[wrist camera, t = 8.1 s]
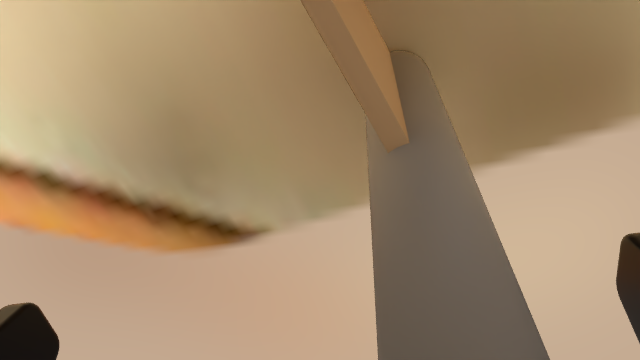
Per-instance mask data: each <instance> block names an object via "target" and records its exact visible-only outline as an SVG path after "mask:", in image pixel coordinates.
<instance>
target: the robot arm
mask: <svg viewBox="0 0 640 360" xmlns="http://www.w3.org/2000/svg"><path fill="white" fill-rule="evenodd" d="M616 285H617V291H618V294H619V297H620V300H621V302H622V304H623V306H624V309H625V311H626V313H627V315H628V318H629V320H630V322H631V325H632V327H633V329H634V332H635V334H636V336H637V338H638V340H639V343H640V233H633V234H628V235H626V236H625V237H623V239H622V241H621V246H620V254H619V261H618V270H617V277H616ZM58 351H59V339H58V336H57V334H56V333H55V331H54V330H53V328H52V327H51V325H50V323H49V322H48V320H47V319H46V317H45V316H44V314H43V313H42V311H41V310H40V308H39V307H38V306H37V305H35V304H33V303H20V304H12V305H8V306H5V307H3V308H2V309H0V360H56V358H57V355H58Z"/></svg>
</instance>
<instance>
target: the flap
mask: <svg viewBox="0 0 640 360" xmlns="http://www.w3.org/2000/svg"><path fill="white" fill-rule="evenodd" d="M301 2H302V4H303V6H304V7H305V9H306V11H307V13H308V14H309V16H310V18H311V20H312V21H313V23H314V25H315V27H316V28H317V30H318V32H319V34H320V35H321V37H322V39H323V41H324V42H325V44H326V46H327V48H328V49H329V51H330V53H331V54H332V56H333V58H334V60H335V61H336V63H337V65H338V67H339V68H340V70H341V72H342V74H343V75H344V77H345V79H346V81H347V82H348V84H349V86H350V88H351V89H352V91H353V93H354V95H355V96H356V98H357V100H358V102H359V103H360V105H361V107H362V109H363V110H364V112H365V114H366V133H367V152H368V172H369V191H370V210H371V230H372V249H373V268H374V288H375V306H376V325H377V344H378V345H377V346H378V360H550V358H549V356H548V354H547V351H546V349H545V347H544V344H543V342H542V340H541V337H540V334H539V332H538V330H537V327H536V325H535V323H534V320H533V318H532V315H531V313H530V310H529V308H528V306H527V303H526V301H525V299H524V296H523V294H522V291H521V289H520V287H519V284H518V282H517V279H516V277H515V275H514V272H513V270H512V267H511V265H510V263H509V260H508V258H507V256H506V253H505V251H504V249H503V246H502V243H501V241H500V239H499V236H498V234H497V231H496V229H495V227H494V224H493V222H492V219H491V217H490V215H489V212H488V210H487V207H486V205H485V203H484V200H483V198H482V195H481V193H480V191H479V188H478V186H477V183H476V181H475V179H474V176H473V174H472V171H471V169H470V167H469V164H468V162H467V159H466V157H465V155H464V152H463V150H462V148H461V145H460V143H459V140H458V138H457V136H456V133H455V131H454V128H453V126H452V124H451V121H450V119H449V116H448V114H447V112H446V109H445V107H444V104H443V102H442V100H441V97H440V95H439V92H438V90H437V88H436V85H435V83H434V80H433V78H432V76H431V73H430V71H429V68H428V67H427V65H426V63H425V62H424V61H423V60H422V59H421V58H420V57H418V56H417V55H415V54H413V53H410V52H407V51H392V52H389V50H388V48H387V46H386V44H385V42H384V40H383V38H382V36H381V34H380V33H379V31H378V29H377V27H376V25H375V23H374V21H373V19H372V17H371V15H370V13H369V11H368V9H367V7H366V5H365V3H364V1H363V0H301Z"/></svg>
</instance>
